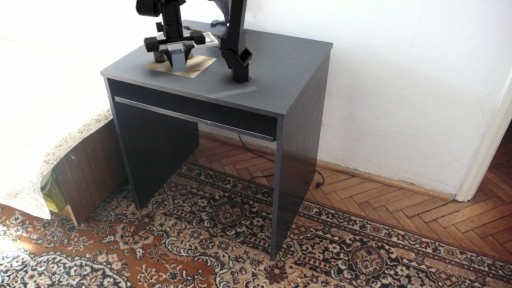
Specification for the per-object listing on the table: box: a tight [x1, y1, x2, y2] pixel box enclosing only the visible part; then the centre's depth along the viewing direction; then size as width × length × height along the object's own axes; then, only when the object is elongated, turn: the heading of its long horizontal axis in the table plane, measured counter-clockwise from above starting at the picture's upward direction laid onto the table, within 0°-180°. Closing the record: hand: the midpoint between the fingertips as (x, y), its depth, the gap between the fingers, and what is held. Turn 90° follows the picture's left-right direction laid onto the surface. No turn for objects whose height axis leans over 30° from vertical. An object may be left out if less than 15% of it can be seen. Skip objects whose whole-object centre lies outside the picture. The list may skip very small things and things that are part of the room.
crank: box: [152, 50, 194, 63], centre depth 122 cm, size 14×4×5 cm, turn 112°
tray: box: [184, 31, 220, 50], centre depth 136 cm, size 12×12×2 cm
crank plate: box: [143, 53, 217, 79], centre depth 121 cm, size 19×16×2 cm
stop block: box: [168, 48, 186, 72], centre depth 115 cm, size 4×4×6 cm
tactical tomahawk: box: [182, 25, 223, 40], centre depth 149 cm, size 21×7×1 cm, turn 57°
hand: (178, 66), depth 117 cm, fingers closed on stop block, 4 cm apart
